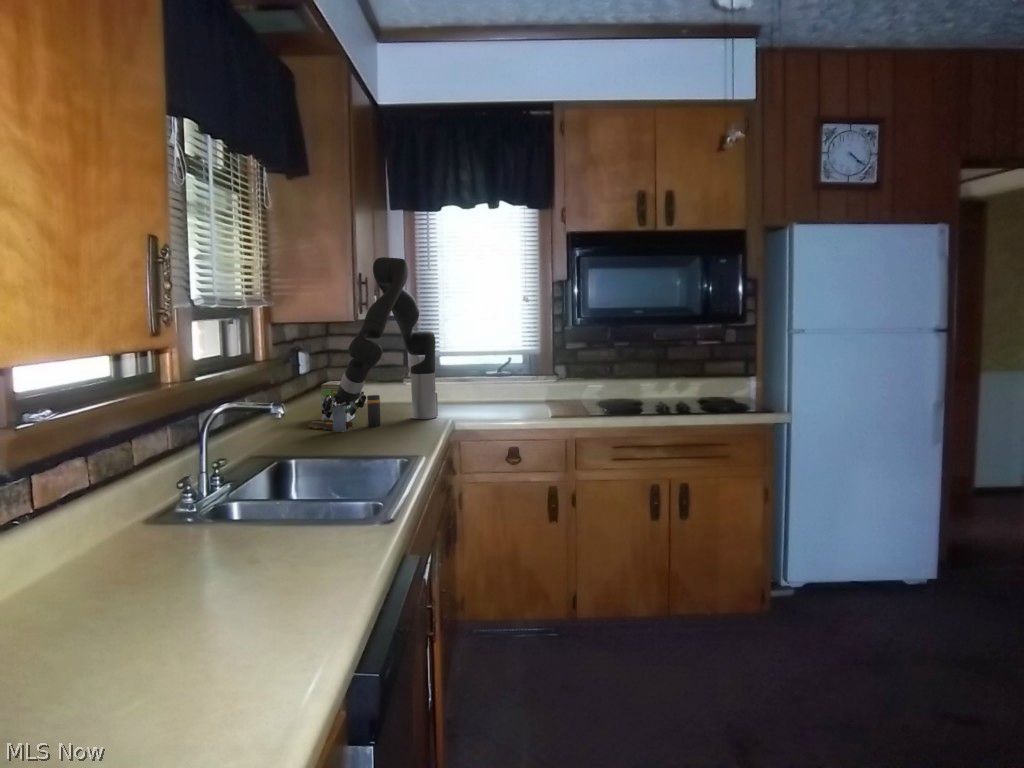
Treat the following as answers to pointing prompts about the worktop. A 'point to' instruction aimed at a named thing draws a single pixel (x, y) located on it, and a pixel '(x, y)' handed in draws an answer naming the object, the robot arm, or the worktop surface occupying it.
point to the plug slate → (339, 419)
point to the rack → (326, 424)
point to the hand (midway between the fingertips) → (339, 415)
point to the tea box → (331, 390)
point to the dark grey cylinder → (373, 410)
